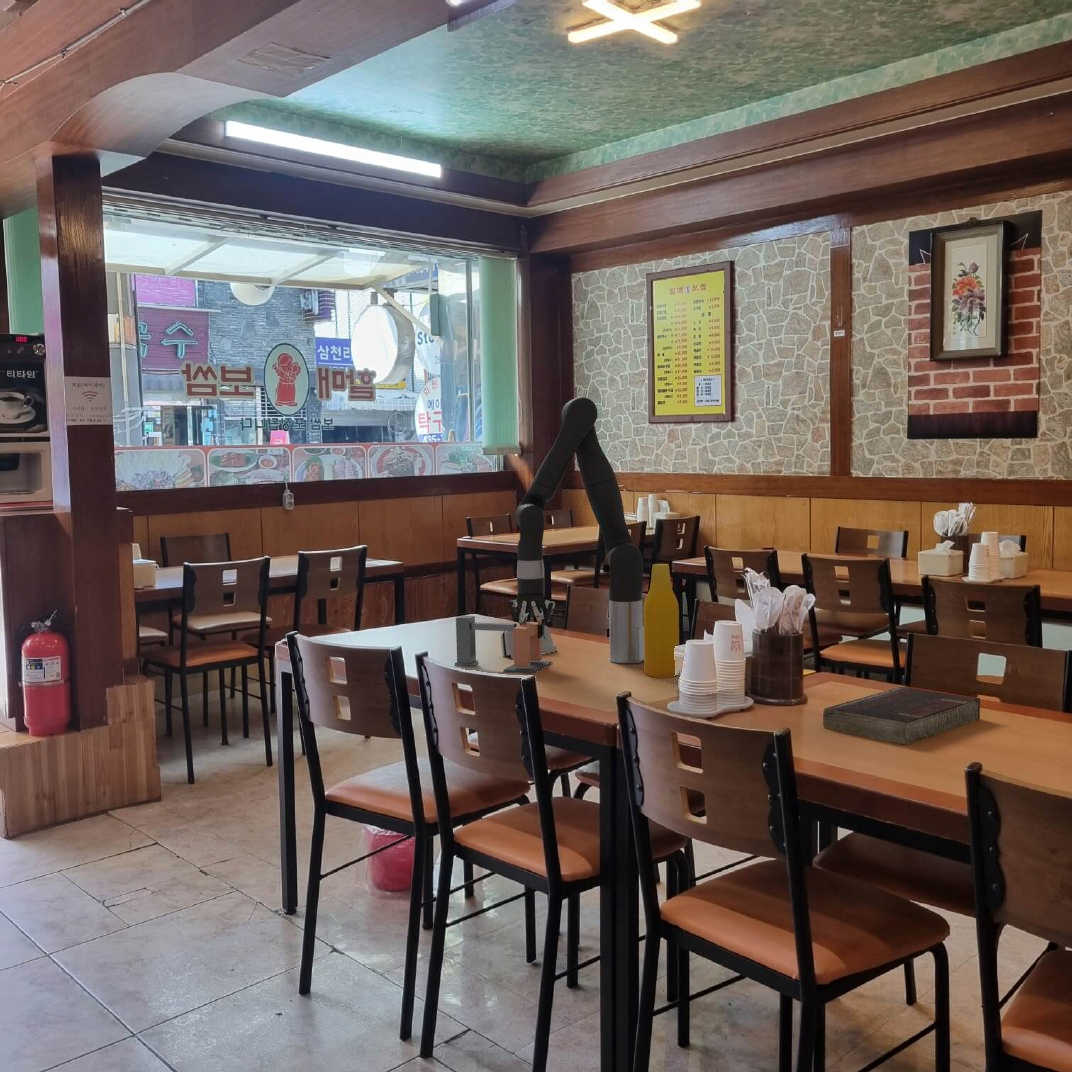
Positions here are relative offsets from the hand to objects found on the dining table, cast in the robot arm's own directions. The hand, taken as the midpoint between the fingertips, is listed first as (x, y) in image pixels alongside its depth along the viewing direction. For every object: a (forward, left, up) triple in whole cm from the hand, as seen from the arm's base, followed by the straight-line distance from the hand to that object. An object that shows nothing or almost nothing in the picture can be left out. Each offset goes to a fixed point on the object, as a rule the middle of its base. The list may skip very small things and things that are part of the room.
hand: (532, 637), depth 289 cm
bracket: (+12, +4, -8) cm, 15 cm away
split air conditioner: (+8, -16, -8) cm, 20 cm away
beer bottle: (-37, +4, -8) cm, 39 cm away
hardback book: (-97, +40, -9) cm, 106 cm away
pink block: (0, +4, -7) cm, 7 cm away
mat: (0, +4, -8) cm, 9 cm away
